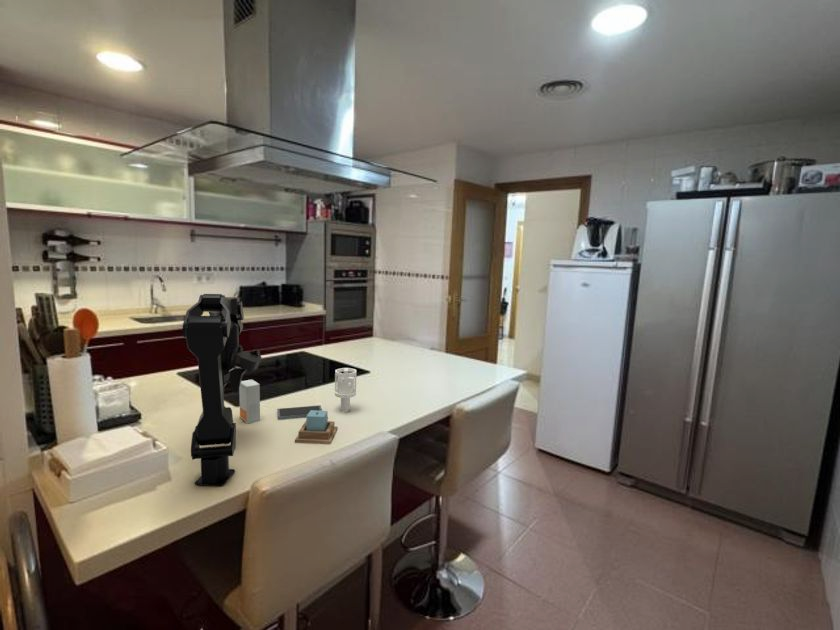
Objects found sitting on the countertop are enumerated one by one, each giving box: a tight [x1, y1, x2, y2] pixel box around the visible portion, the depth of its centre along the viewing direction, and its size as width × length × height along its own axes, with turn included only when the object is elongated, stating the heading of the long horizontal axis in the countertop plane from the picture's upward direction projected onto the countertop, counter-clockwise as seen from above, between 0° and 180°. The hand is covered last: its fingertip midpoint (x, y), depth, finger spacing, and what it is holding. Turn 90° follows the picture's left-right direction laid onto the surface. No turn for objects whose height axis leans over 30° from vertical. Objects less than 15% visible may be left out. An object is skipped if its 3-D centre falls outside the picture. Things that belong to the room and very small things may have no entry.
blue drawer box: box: [305, 410, 328, 431], centre depth 119 cm, size 4×5×6 cm
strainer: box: [334, 367, 357, 413], centre depth 139 cm, size 7×7×15 cm
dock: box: [294, 420, 338, 445], centre depth 119 cm, size 10×10×3 cm
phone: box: [276, 405, 323, 421], centre depth 135 cm, size 7×14×1 cm, turn 110°
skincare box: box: [238, 379, 261, 424], centre depth 128 cm, size 6×4×12 cm
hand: (228, 398), depth 113 cm, fingers open, 9 cm apart
